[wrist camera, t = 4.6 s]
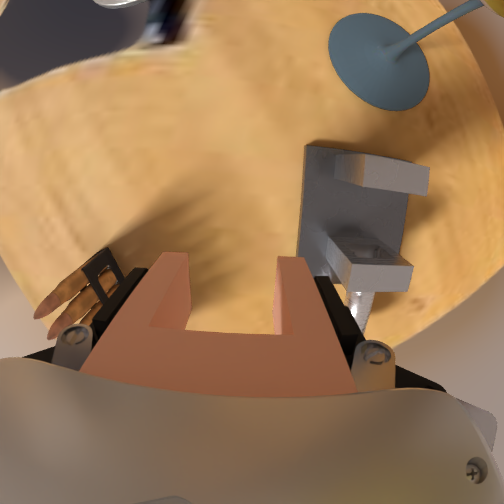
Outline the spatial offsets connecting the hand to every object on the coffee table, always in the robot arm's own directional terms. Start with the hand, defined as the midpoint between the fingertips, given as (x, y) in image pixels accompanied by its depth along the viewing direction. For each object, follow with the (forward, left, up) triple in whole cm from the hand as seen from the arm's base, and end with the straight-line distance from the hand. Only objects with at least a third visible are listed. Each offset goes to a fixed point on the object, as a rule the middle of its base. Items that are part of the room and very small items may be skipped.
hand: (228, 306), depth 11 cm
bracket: (-1, +10, -14) cm, 17 cm away
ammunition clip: (+8, -12, -14) cm, 20 cm away
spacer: (0, 0, -2) cm, 2 cm away
